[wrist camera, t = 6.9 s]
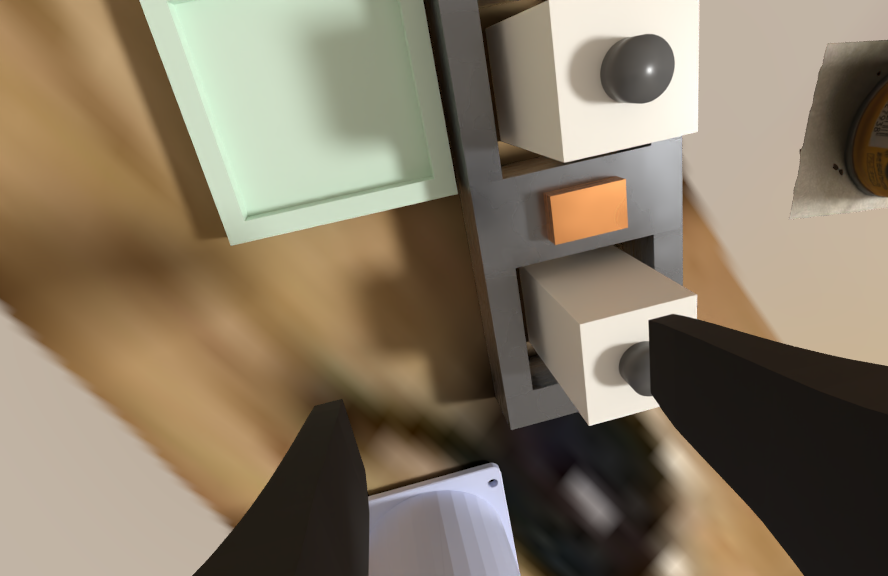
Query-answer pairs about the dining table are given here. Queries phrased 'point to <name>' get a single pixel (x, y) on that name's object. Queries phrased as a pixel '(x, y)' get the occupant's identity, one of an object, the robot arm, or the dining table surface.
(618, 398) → the pull-out knob drawer
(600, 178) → the small drawer cabinet
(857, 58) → the condiment
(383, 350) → the dining table surface
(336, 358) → the dining table surface
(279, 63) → the tray
